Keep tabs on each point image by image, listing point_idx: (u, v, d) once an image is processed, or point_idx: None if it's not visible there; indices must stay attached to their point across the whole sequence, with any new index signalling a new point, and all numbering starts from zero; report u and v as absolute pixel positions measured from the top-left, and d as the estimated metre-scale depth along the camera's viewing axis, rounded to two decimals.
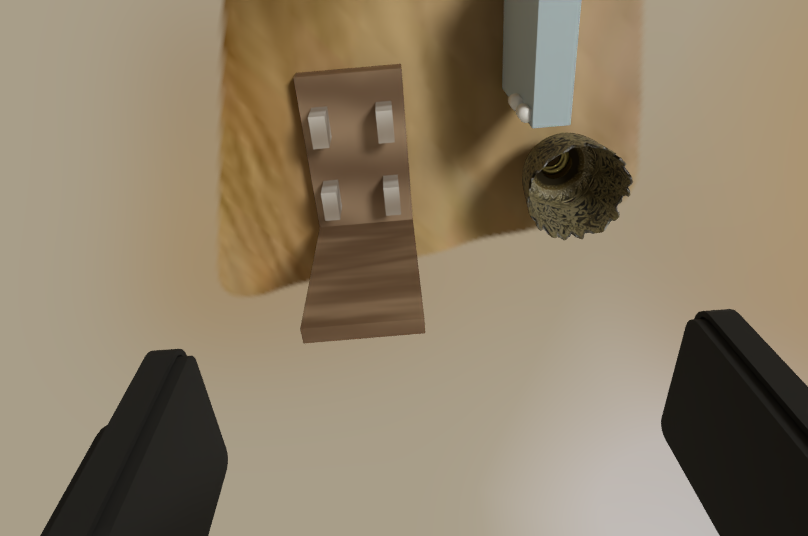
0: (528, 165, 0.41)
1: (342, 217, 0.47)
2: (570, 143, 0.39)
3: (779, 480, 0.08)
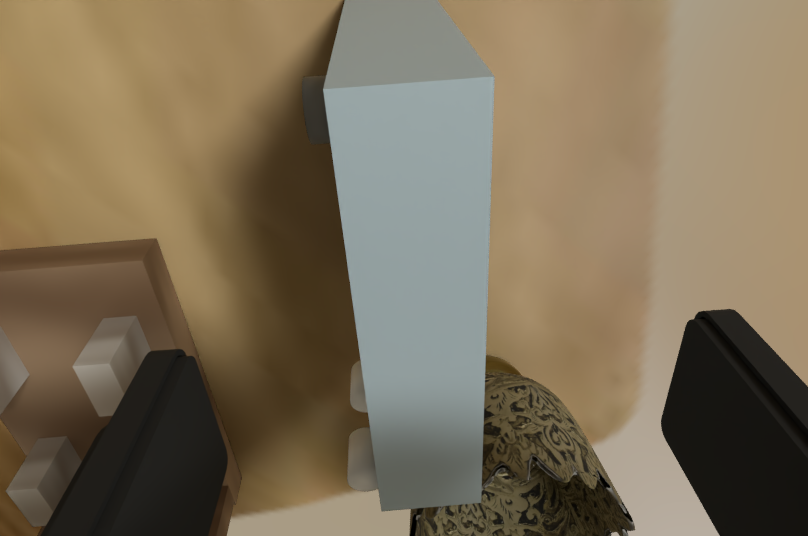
0: None
1: None
2: (498, 452, 0.17)
3: (780, 480, 0.08)
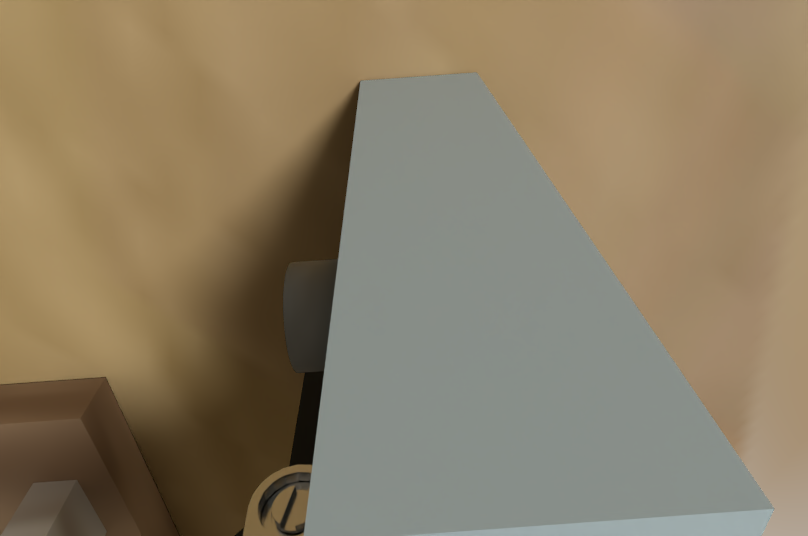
0: None
1: None
2: None
3: None
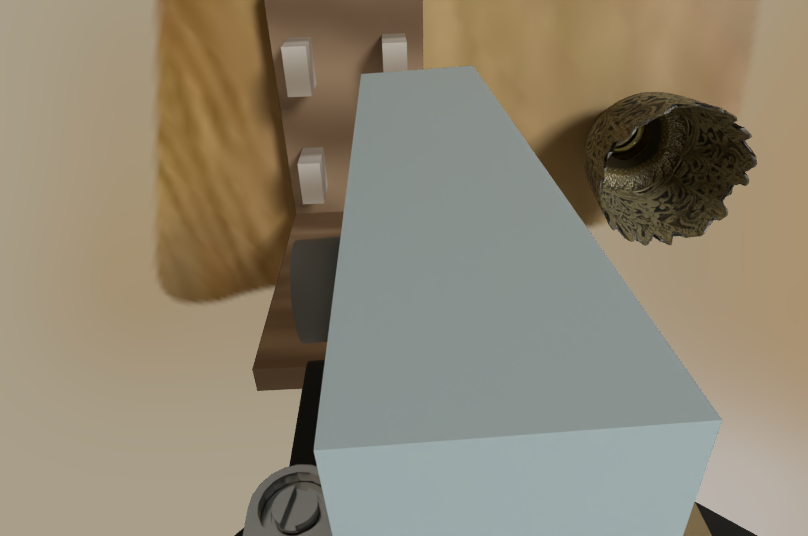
0: (599, 135, 0.29)
1: (327, 201, 0.34)
2: (670, 102, 0.26)
3: None
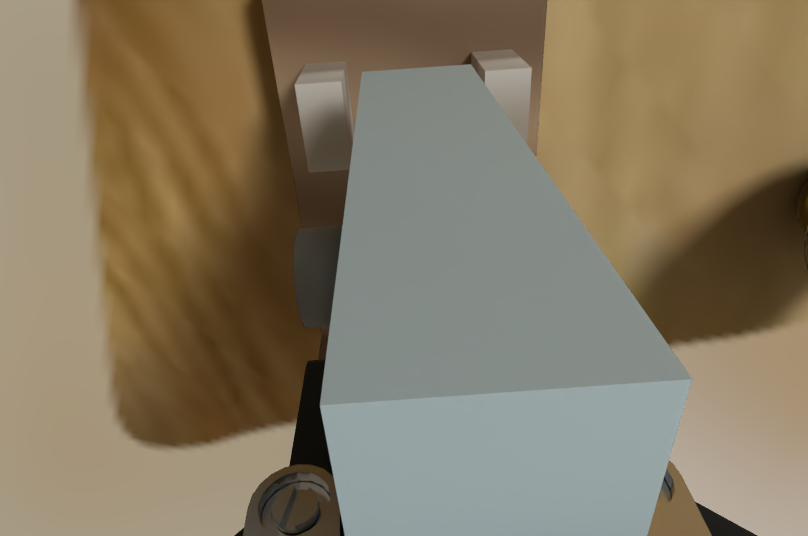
0: None
1: None
2: None
3: None
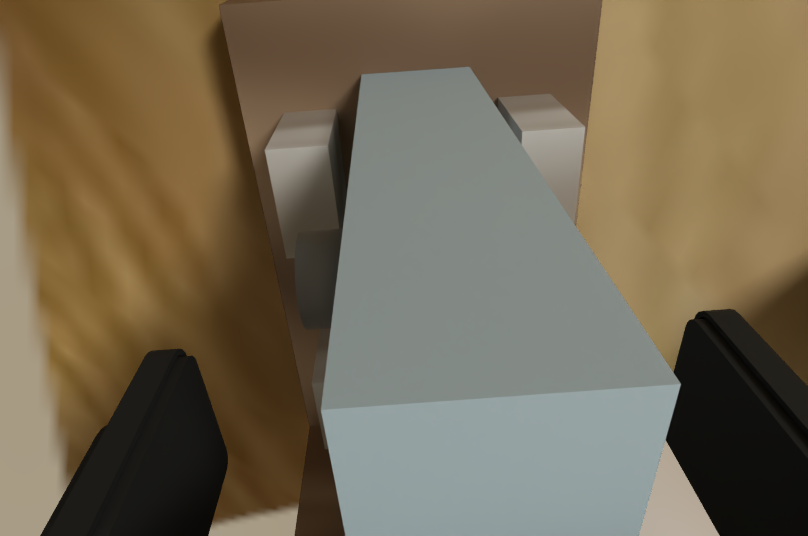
0: None
1: None
2: None
3: (779, 480, 0.08)
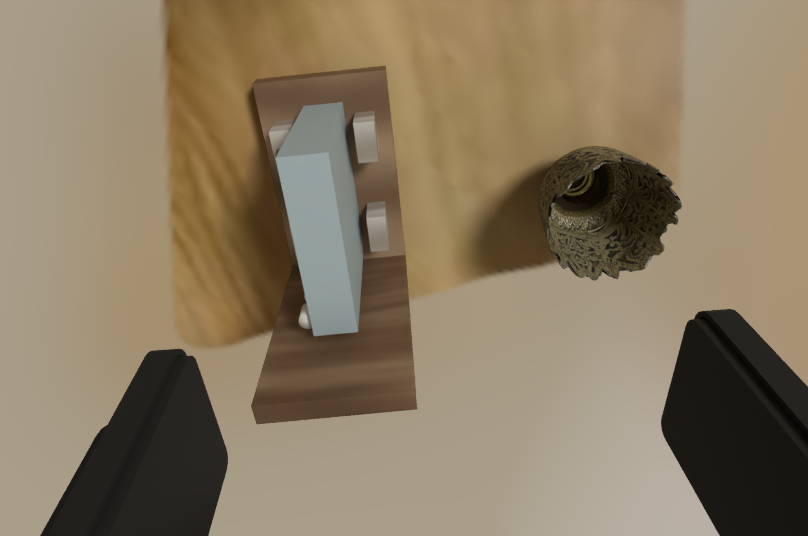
0: (546, 187, 0.33)
1: None
2: (600, 158, 0.30)
3: (779, 480, 0.08)
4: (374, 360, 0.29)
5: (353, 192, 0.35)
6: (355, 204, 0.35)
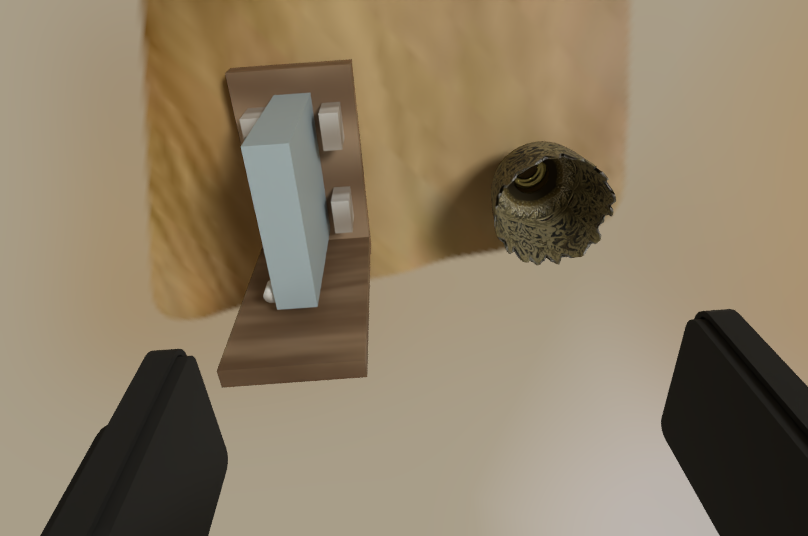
0: (496, 178, 0.36)
1: None
2: (543, 154, 0.33)
3: (779, 480, 0.08)
4: (331, 332, 0.32)
5: (319, 177, 0.37)
6: (321, 188, 0.38)
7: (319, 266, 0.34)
